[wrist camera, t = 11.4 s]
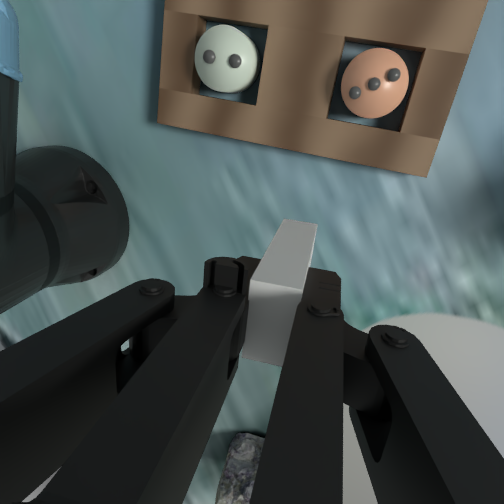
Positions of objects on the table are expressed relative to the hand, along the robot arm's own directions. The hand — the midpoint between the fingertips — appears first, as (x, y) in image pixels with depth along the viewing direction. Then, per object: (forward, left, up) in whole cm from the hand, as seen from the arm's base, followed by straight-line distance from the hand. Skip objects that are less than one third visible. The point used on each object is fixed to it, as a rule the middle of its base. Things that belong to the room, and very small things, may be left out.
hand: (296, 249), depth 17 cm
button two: (-10, +8, -19) cm, 23 cm away
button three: (+2, +8, -19) cm, 21 cm away
